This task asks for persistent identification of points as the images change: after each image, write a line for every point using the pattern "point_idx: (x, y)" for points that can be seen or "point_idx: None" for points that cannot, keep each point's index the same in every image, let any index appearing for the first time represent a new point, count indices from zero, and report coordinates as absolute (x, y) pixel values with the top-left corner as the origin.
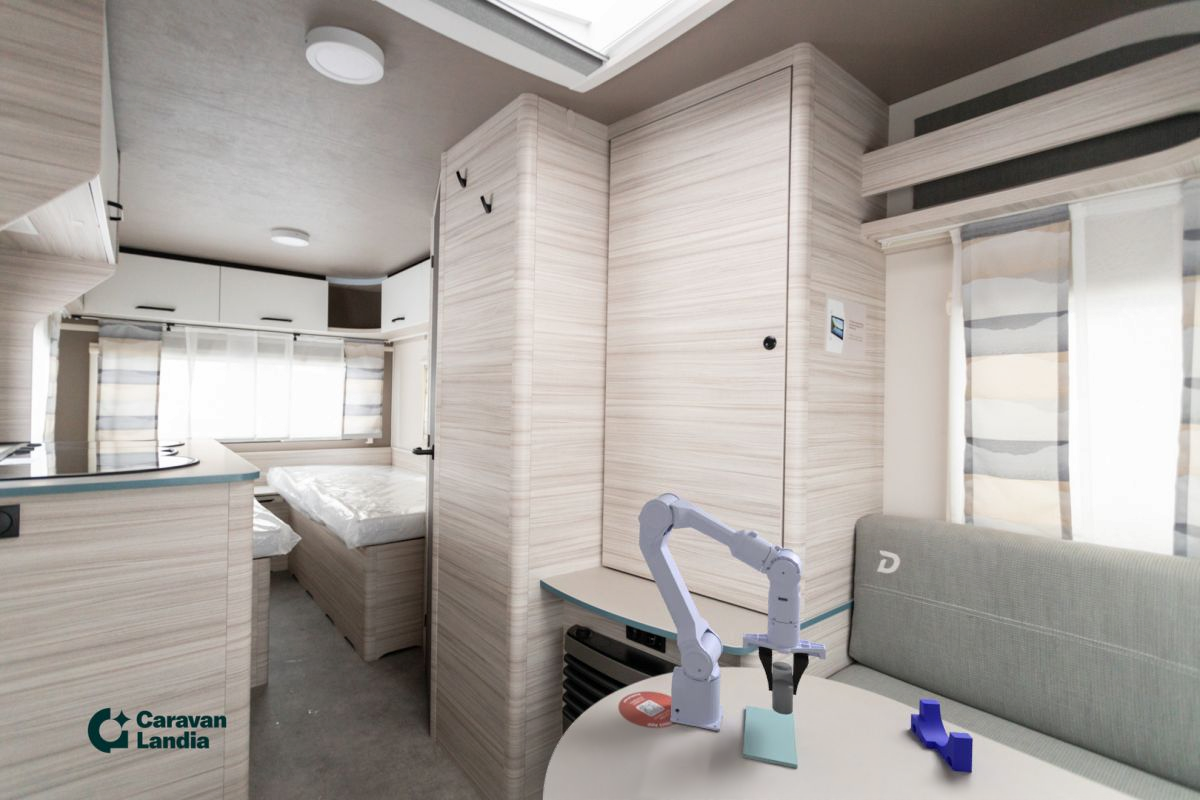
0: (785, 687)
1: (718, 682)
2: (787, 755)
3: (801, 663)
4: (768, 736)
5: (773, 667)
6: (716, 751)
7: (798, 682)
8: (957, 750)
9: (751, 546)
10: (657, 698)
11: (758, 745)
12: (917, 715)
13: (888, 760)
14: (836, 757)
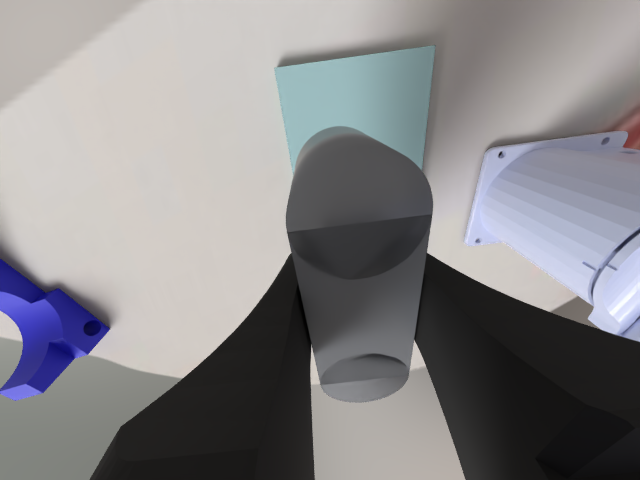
0: (340, 180)
1: (596, 235)
2: (307, 105)
3: (156, 465)
4: None
5: (406, 358)
6: (510, 39)
7: (268, 291)
8: None
9: None
10: None
11: (387, 117)
12: (75, 354)
13: (96, 217)
14: (197, 175)
